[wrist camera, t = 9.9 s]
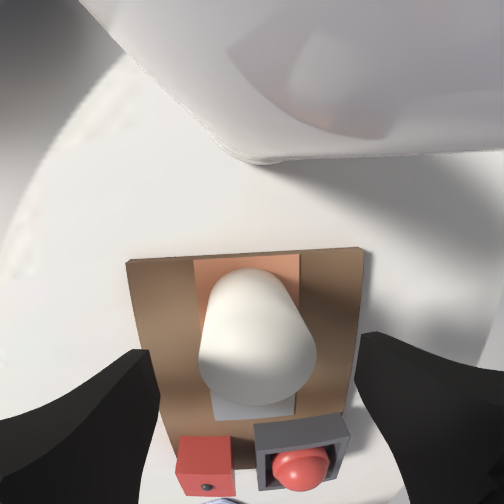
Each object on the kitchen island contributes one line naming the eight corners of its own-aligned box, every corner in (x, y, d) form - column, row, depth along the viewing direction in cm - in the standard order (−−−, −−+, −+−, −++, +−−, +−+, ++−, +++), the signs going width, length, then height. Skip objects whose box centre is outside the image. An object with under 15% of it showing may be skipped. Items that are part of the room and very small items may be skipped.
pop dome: (320, 460, 16) (331, 494, 13) (270, 468, 16) (275, 503, 13) (326, 431, 16) (340, 468, 12) (270, 440, 15) (277, 480, 12)
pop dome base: (328, 457, 17) (336, 478, 15) (256, 467, 17) (258, 490, 15) (339, 411, 16) (350, 435, 14) (253, 423, 16) (256, 450, 14)
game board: (329, 450, 18) (332, 458, 17) (182, 462, 18) (181, 470, 17) (357, 246, 15) (364, 250, 14) (130, 259, 14) (124, 263, 13)
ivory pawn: (239, 353, 14) (244, 419, 10) (191, 297, 14) (173, 352, 9) (303, 313, 14) (335, 368, 9) (259, 250, 13) (276, 285, 8)
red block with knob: (234, 461, 17) (236, 500, 13) (189, 461, 17) (185, 499, 13) (230, 436, 16) (231, 478, 12) (180, 435, 16) (174, 477, 12)
